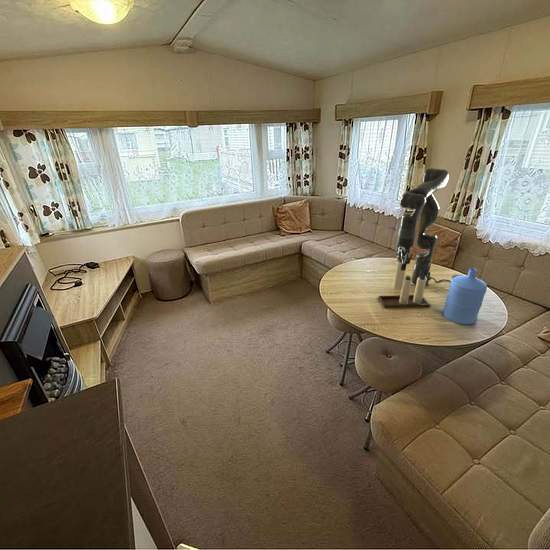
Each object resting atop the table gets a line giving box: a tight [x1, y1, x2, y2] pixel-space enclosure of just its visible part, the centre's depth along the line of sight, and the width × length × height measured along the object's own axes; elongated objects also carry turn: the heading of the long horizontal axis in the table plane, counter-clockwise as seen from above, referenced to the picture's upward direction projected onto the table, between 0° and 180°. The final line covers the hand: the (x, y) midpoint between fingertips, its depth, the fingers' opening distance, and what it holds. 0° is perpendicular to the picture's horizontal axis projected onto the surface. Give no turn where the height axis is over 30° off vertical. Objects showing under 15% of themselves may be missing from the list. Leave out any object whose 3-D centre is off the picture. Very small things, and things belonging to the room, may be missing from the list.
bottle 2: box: [413, 275, 427, 304], centre depth 169 cm, size 5×5×16 cm
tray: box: [377, 294, 431, 309], centre depth 172 cm, size 26×11×2 cm, turn 90°
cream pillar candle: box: [392, 258, 406, 291], centre depth 152 cm, size 5×5×16 cm
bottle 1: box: [399, 275, 412, 304], centre depth 169 cm, size 5×5×16 cm
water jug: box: [442, 267, 488, 325], centre depth 153 cm, size 16×16×28 cm
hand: (400, 267), depth 150 cm, fingers closed on cream pillar candle, 4 cm apart
